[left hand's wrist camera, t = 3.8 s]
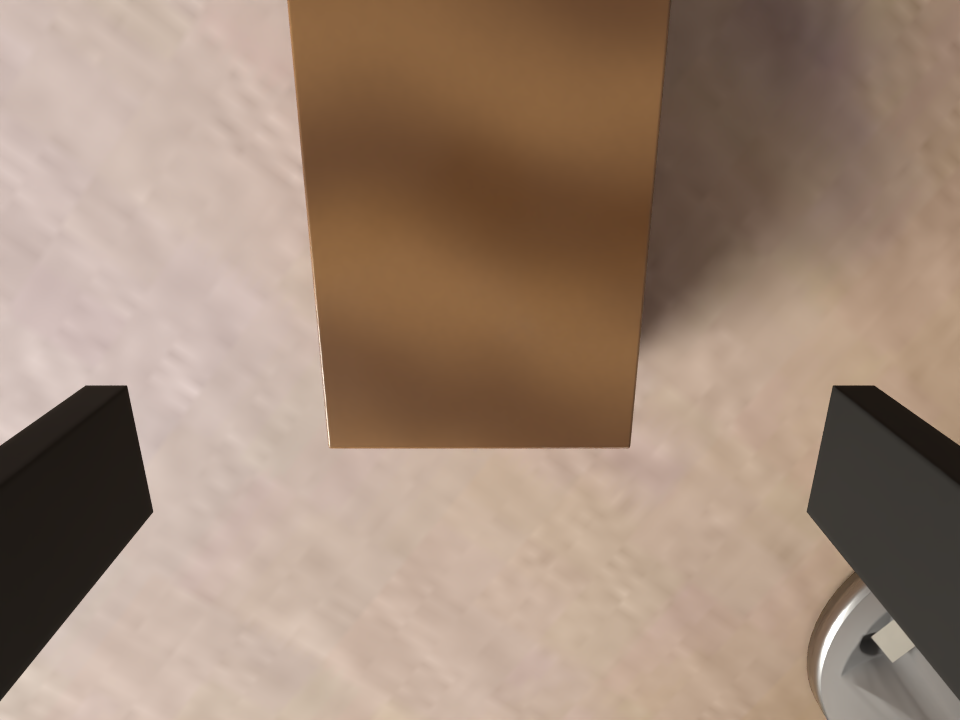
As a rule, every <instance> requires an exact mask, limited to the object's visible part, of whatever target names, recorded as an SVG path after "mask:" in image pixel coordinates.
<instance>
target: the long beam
mask: <svg viewBox="0 0 960 720" xmlns="http://www.w3.org/2000/svg"><path fill="white" fill-rule="evenodd" d="M287 2H288V13H289V24H290V35H291V46H292V56H293V67H294V78H295V89H296V100H297V111H298V121H299V132H300V143H301V154H302V165H303V175H304V186H305V197H306V208H307V219H308V229H309V240H310V251H311V262H312V273H313V283H314V294H315V305H316V316H317V327H318V338H319V348H320V359H321V370H322V381H323V392H324V402H325V413H326V424H327V435H328V446H329V448H629V447H630V443H631V433H632V422H633V411H634V400H635V389H636V378H637V367H638V356H639V345H640V334H641V324H642V313H643V302H644V291H645V280H646V269H647V258H648V247H649V236H650V226H651V215H652V204H653V193H654V182H655V171H656V160H657V149H658V138H659V127H660V117H661V106H662V95H663V84H664V73H665V62H666V51H667V40H668V29H669V18H670V8H671V0H287Z"/></svg>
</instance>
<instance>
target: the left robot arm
mask: <svg viewBox="0 0 960 720" xmlns="http://www.w3.org/2000/svg"><path fill="white" fill-rule="evenodd" d="M152 513H153V508H152V503H151V499H150V494H149V489H148V484H147V479H146V475H145V470H144V465H143V460H142V455H141V451H140V446H139V441H138V436H137V431H136V427H135V422H134V417H133V412H132V407H131V403H130V398H129V393H128V388H127V386H84V387H83V388H82V389H80V390H79V391H77V392H76V393H75V394H73V395H72V396H70V397H69V398H67V399H66V400H65V401H63V402H62V403H60V404H59V405H58V406H56V407H55V408H53V409H52V410H50V411H49V412H48V413H46V414H45V415H43V416H42V417H40V418H39V419H38V420H36V421H35V422H33V423H32V424H31V425H29V426H28V427H26V428H25V429H23V430H22V431H21V432H19V433H18V434H16V435H15V436H13V437H12V438H11V439H9V440H8V441H6V442H5V443H4V444H2V445H1V446H0V701H1V699H2V698H3V697H4V696H5V695H6V693H7V692H8V691H9V690H10V688H11V687H12V686H13V685H14V683H15V682H16V681H17V680H18V678H19V677H20V676H21V675H22V674H23V672H24V671H25V670H26V669H27V667H28V666H29V665H30V664H31V662H32V661H33V660H34V659H35V657H36V656H37V655H38V654H39V653H40V651H41V650H42V649H43V648H44V646H45V645H46V644H47V643H48V641H49V640H50V639H51V638H52V636H53V635H54V634H55V633H56V631H57V630H58V629H59V628H60V627H61V625H62V624H63V623H64V622H65V620H66V619H67V618H68V617H69V615H70V614H71V613H72V612H73V610H74V609H75V608H76V607H77V606H78V604H79V603H80V602H81V601H82V599H83V598H84V597H85V596H86V594H87V593H88V592H89V591H90V589H91V588H92V587H93V586H94V585H95V583H96V582H97V581H98V580H99V578H100V577H101V576H102V575H103V573H104V572H105V571H106V570H107V568H108V567H109V566H110V565H111V564H112V562H113V561H114V560H115V559H116V557H117V556H118V555H119V554H120V552H121V551H122V550H123V549H124V547H125V546H126V545H127V544H128V542H129V541H130V540H131V539H132V538H133V536H134V535H135V534H136V533H137V531H138V530H139V529H140V528H141V526H142V525H143V524H144V523H145V521H146V520H147V519H148V518H149V517H150V515H151V514H152ZM807 513H808V514H809V515H810V517H811V518H812V519H813V520H814V521H815V523H816V524H817V525H818V526H819V528H820V529H821V530H822V531H823V533H824V534H825V535H826V536H827V538H828V539H829V540H830V541H831V542H832V544H833V545H834V546H835V547H836V549H837V550H838V551H839V552H840V554H841V555H842V556H843V557H844V559H845V560H846V561H847V562H848V564H849V565H850V566H851V567H852V568H853V570H854V571H855V573H853V574H852V575H851V576H850V577H849V578H848V579H847V580H846V581H845V582H844V583H843V584H842V585H841V586H840V588H839V589H838V590H837V591H836V592H835V594H834V595H833V596H832V597H831V599H830V600H829V601H828V603H827V605H826V606H825V608H824V609H823V611H822V612H821V614H820V616H819V618H818V620H817V622H816V625H815V627H814V630H813V632H812V635H811V639H810V643H809V647H808V654H807V672H808V679H809V683H810V687H811V690H812V692H813V695H814V697H815V699H816V701H817V703H818V704H819V706H820V708H821V710H822V711H823V713H824V715H825V717H826V718H827V720H960V446H959V445H958V444H956V443H955V442H954V441H952V440H951V439H949V438H948V437H947V436H945V435H944V434H942V433H941V432H939V431H938V430H937V429H935V428H934V427H932V426H931V425H929V424H928V423H927V422H925V421H924V420H922V419H921V418H920V417H918V416H917V415H915V414H914V413H912V412H911V411H910V410H908V409H907V408H905V407H904V406H902V405H901V404H900V403H898V402H897V401H895V400H894V399H893V398H891V397H890V396H888V395H887V394H885V393H884V392H883V391H881V390H880V389H878V388H877V387H876V386H833V388H832V393H831V398H830V403H829V407H828V412H827V417H826V422H825V427H824V431H823V436H822V441H821V446H820V451H819V455H818V460H817V465H816V470H815V475H814V479H813V484H812V489H811V494H810V499H809V503H808V508H807Z"/></svg>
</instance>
